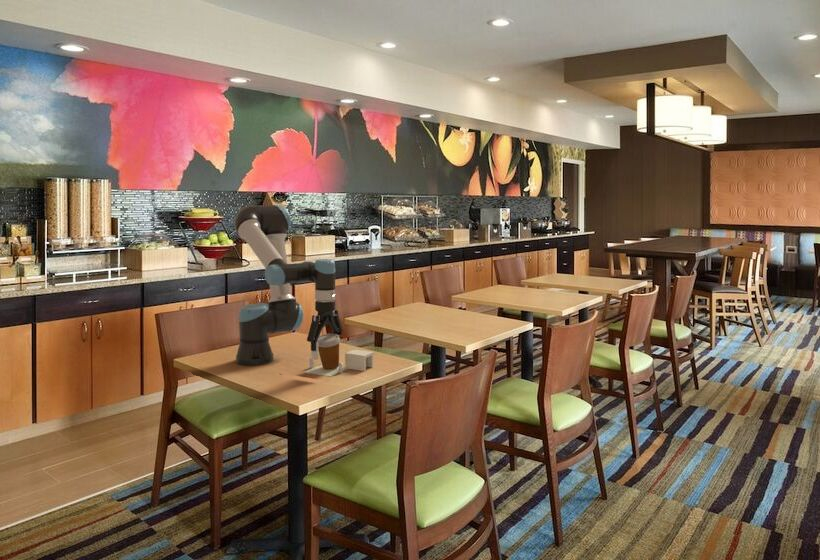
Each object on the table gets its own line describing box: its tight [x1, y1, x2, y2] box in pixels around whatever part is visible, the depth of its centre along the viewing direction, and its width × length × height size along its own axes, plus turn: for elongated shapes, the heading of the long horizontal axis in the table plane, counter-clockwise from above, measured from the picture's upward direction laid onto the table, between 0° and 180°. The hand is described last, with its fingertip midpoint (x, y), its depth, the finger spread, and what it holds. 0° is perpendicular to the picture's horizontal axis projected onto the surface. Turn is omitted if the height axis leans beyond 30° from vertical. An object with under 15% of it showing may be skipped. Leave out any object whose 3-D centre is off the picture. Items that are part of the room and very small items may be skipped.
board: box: [304, 357, 349, 377], centre depth 244 cm, size 21×19×5 cm
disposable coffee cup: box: [317, 333, 341, 370], centre depth 244 cm, size 10×10×12 cm
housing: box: [344, 349, 374, 372], centre depth 246 cm, size 9×7×6 cm
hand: (325, 354), depth 242 cm, fingers open, 13 cm apart
